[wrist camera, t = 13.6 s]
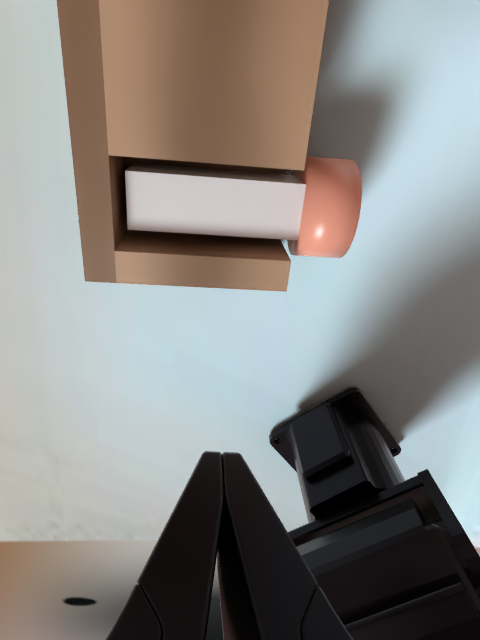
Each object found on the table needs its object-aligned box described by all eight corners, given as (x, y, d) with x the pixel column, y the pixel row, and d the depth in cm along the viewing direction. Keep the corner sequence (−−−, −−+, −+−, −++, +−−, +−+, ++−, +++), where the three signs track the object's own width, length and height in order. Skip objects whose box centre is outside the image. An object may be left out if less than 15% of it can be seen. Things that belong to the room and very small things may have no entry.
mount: (336, -265, 13) (390, -425, 9) (272, 255, 21) (286, 291, 17) (71, -312, 12) (5, -509, 8) (109, 246, 20) (85, 281, 16)
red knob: (339, 154, 18) (369, 166, 15) (323, 242, 20) (347, 271, 17) (137, 137, 17) (118, 146, 14) (140, 230, 19) (124, 259, 16)
